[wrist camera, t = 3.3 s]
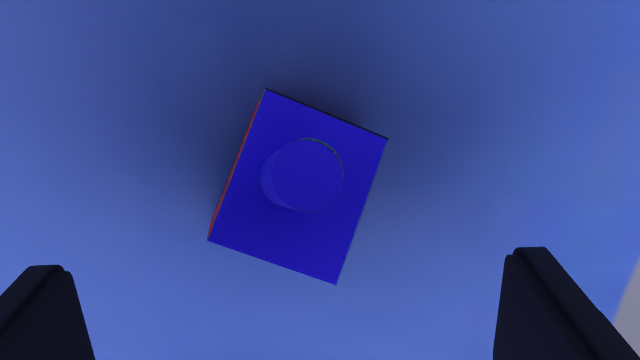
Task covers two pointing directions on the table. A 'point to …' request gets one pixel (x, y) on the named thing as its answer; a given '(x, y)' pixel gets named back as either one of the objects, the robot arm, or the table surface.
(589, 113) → the table surface
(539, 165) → the table surface
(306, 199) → the toy building block
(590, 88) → the table surface
